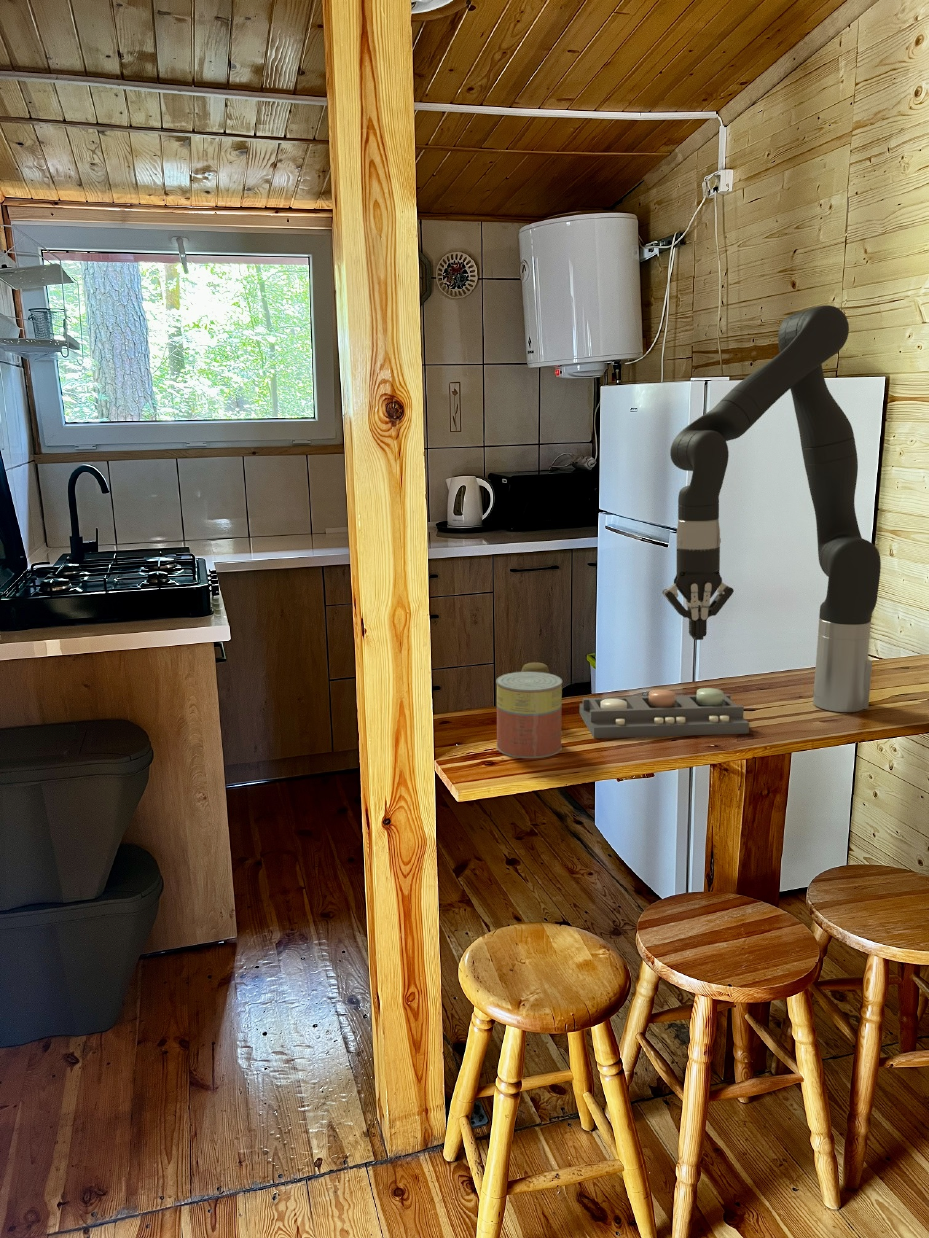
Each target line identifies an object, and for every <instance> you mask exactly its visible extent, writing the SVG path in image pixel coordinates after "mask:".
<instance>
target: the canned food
mask: <svg viewBox="0 0 929 1238" xmlns="http://www.w3.org/2000/svg"><path fill="white" fill-rule="evenodd" d="M495 683H496V749H497V750H498V752H499V753H501V754H503V755H505V756H508V757H512V758H518V759H543V758H548V757H552V756H554V755H557V754H558V753H560V751H561V750H562V748H563V747H562V711H563V710H562V707H563V706H562V705H563V704H562V700H563V699H562V698H563V697H562V696H563V688H562V687H563V679H562V678H561V677H560V676H558V675H557V674H552V673H550V672H549V673H544V672H532V671H525V672H521V671H513V672H509V673H505V674H502V675H500V676H498V677H497V678H496V680H495Z"/></svg>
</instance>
